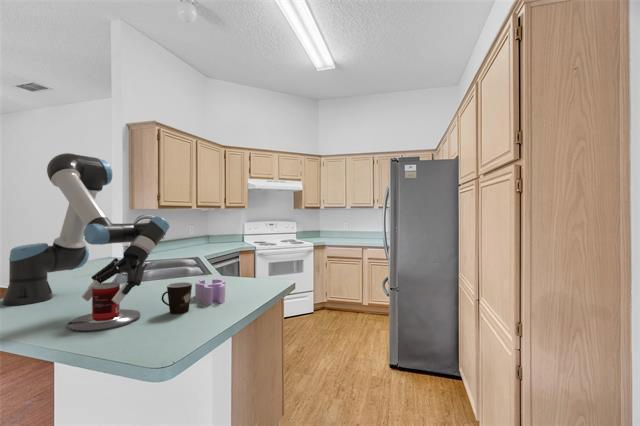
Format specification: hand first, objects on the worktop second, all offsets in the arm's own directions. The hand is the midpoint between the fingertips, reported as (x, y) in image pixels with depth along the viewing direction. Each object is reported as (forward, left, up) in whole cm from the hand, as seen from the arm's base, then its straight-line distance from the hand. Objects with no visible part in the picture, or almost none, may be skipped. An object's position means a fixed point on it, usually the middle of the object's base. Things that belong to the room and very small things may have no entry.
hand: (99, 300), depth 102 cm
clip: (+15, +39, -8) cm, 42 cm away
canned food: (0, +2, -6) cm, 7 cm away
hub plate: (0, +2, -7) cm, 8 cm away
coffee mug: (+15, +17, -8) cm, 24 cm away
